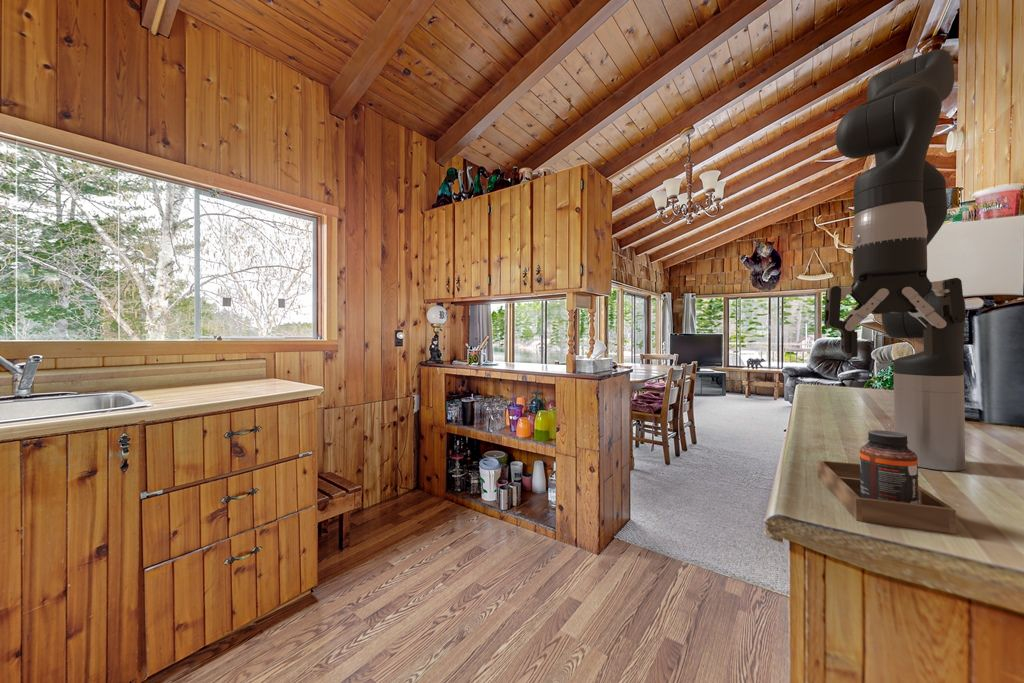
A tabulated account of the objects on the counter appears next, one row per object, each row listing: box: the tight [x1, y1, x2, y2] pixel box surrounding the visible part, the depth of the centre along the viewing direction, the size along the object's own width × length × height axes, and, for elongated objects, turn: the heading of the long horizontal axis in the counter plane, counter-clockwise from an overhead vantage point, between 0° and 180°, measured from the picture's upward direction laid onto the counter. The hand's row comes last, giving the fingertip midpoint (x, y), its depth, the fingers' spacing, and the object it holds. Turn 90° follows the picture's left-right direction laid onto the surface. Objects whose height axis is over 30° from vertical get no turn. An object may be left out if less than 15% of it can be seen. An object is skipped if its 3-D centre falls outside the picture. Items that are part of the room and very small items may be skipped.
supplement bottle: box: [859, 429, 919, 504], centre depth 55 cm, size 6×6×11 cm
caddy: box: [817, 459, 957, 535], centre depth 59 cm, size 18×10×3 cm, turn 155°
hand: (890, 356), depth 55 cm, fingers open, 8 cm apart
